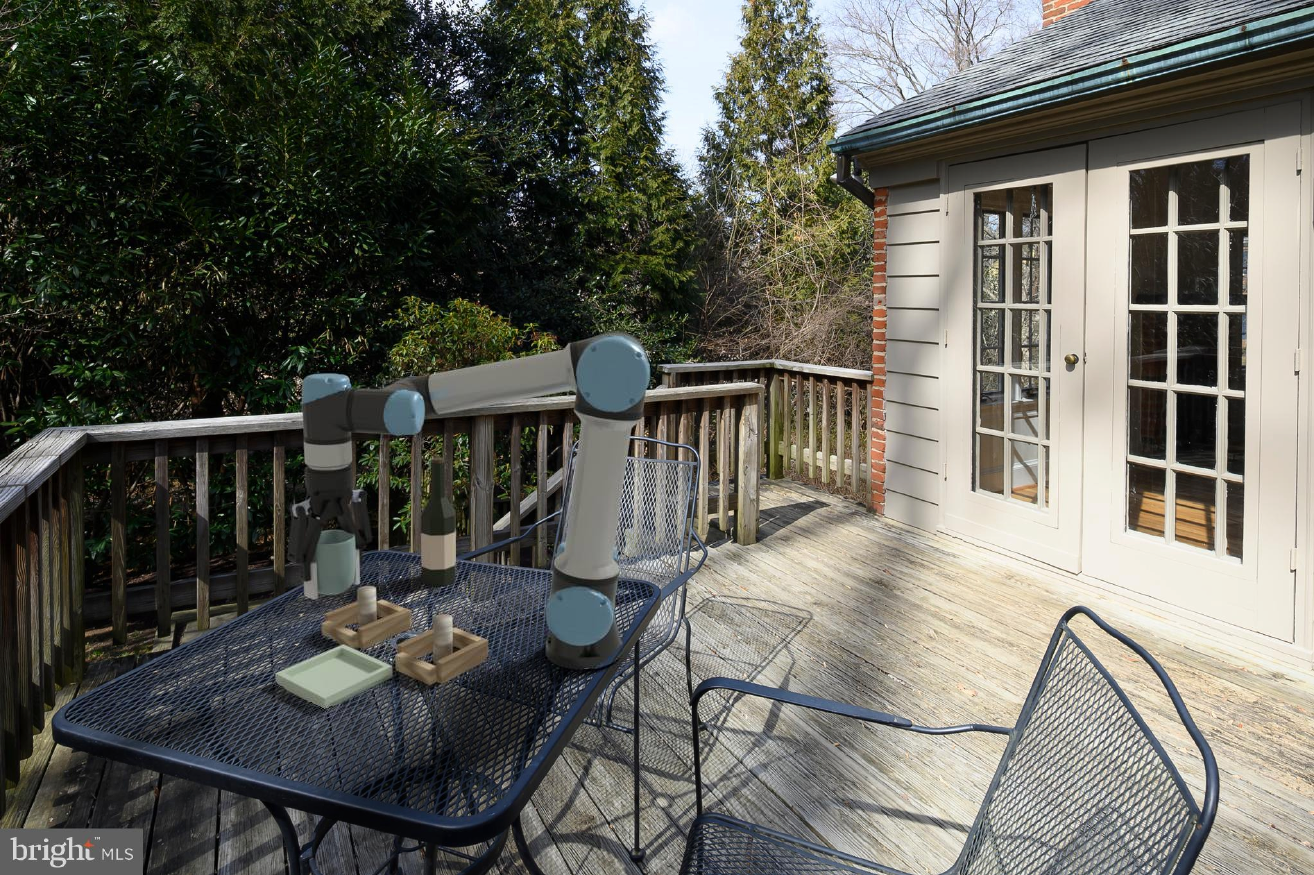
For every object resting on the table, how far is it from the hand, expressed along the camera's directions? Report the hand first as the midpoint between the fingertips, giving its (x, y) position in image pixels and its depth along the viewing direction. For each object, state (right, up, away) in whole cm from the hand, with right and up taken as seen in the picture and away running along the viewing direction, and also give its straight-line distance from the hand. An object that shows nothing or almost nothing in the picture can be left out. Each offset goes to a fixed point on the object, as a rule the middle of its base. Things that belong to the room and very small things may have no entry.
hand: (332, 589), depth 141 cm
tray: (-1, -17, +3) cm, 17 cm away
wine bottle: (+5, -8, +51) cm, 51 cm away
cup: (0, 0, 0) cm, 1 cm away
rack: (+7, -15, +17) cm, 24 cm away
